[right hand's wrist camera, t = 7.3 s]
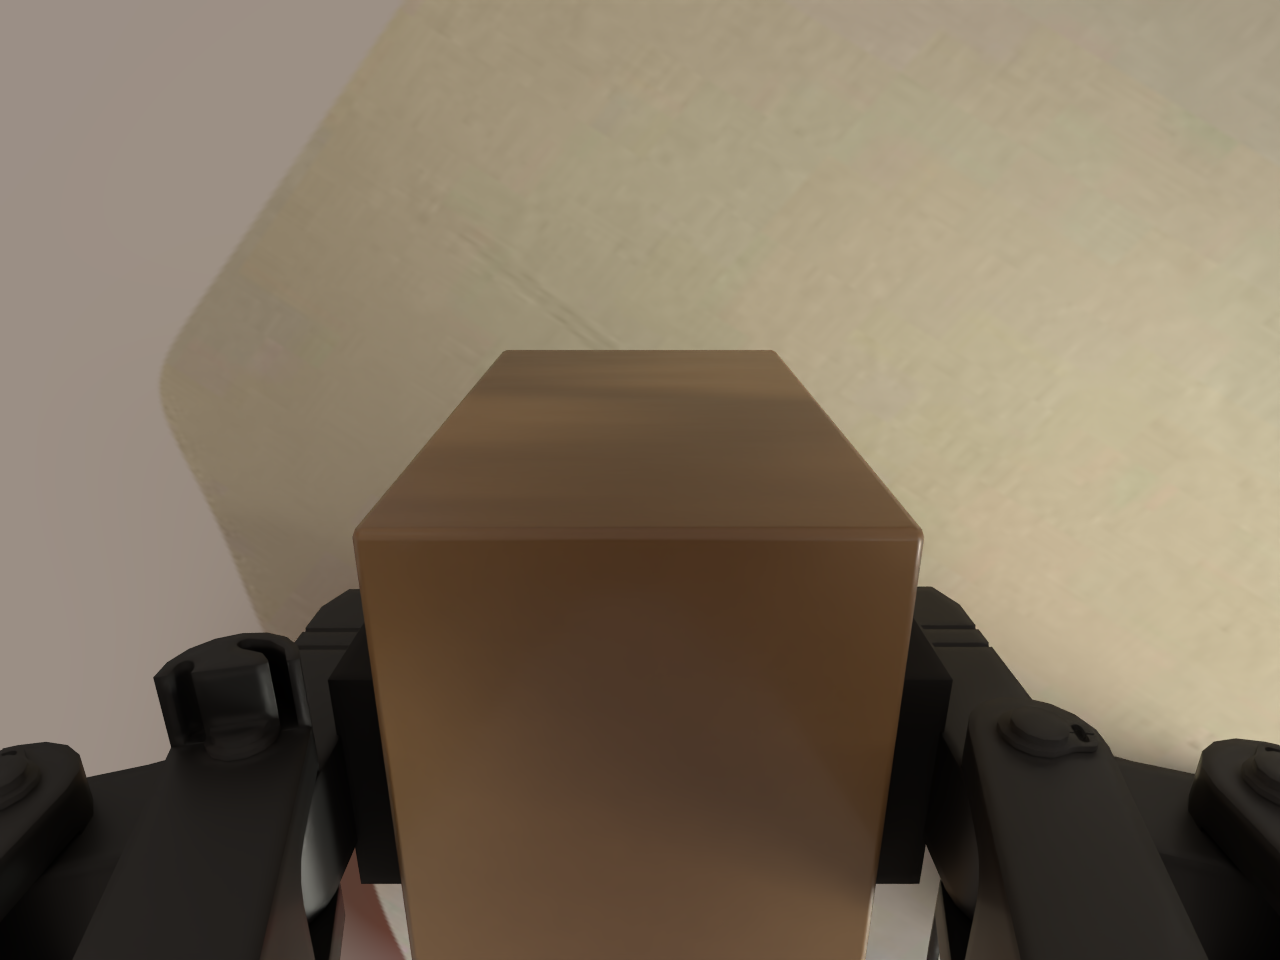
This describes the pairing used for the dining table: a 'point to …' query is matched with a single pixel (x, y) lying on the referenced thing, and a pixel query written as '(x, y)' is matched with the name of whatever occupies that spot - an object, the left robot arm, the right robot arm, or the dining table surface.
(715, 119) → the dining table surface
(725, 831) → the block
